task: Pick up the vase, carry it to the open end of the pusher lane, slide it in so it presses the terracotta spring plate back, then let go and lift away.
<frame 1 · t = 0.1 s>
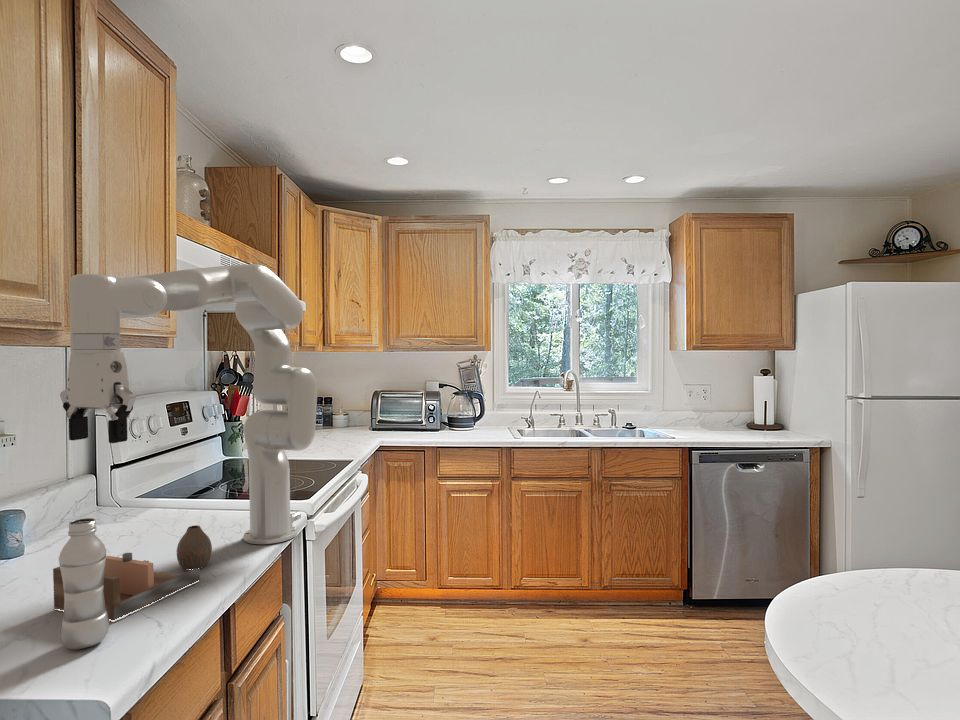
hand: (98, 440, 107), 31 cm above the countertop, tool pointing down, fingers open, 9 cm apart
pusher plate: (127, 573, 115), point 4 cm above the countertop, slide at 0.0 cm
pusher lane: (131, 595, 116), on the countertop
vase: (194, 567, 130), on the countertop
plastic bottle: (85, 645, 97), on the countertop
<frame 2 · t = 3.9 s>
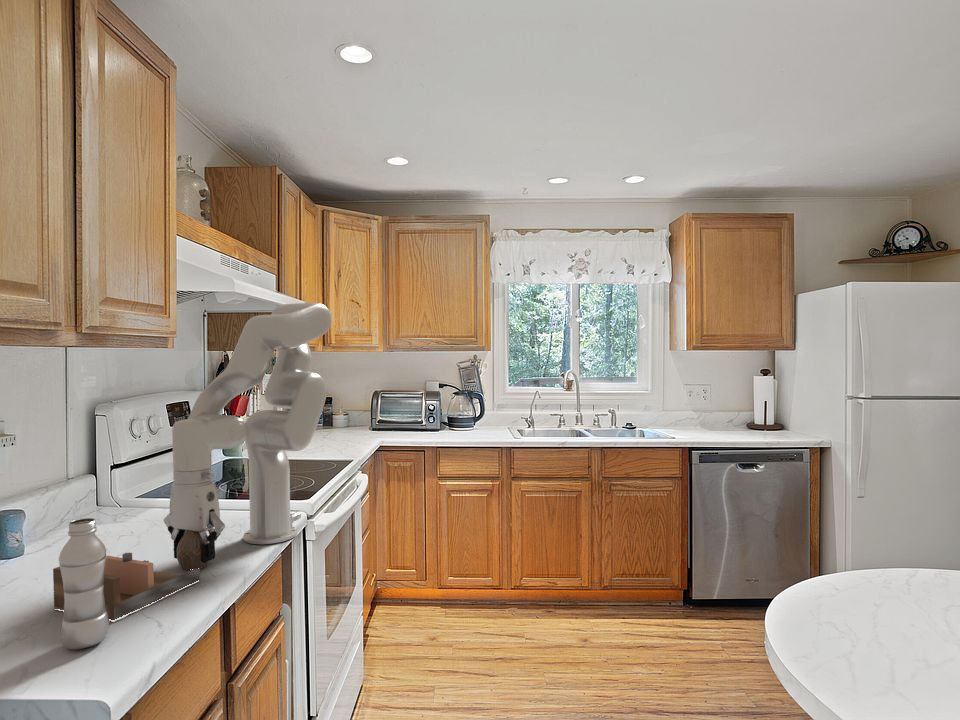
hand: (194, 557, 130), 2 cm above the countertop, tool pointing down, fingers closed on vase, 7 cm apart
vase: (194, 567, 130), on the countertop, touching gripper
everything else where it was.
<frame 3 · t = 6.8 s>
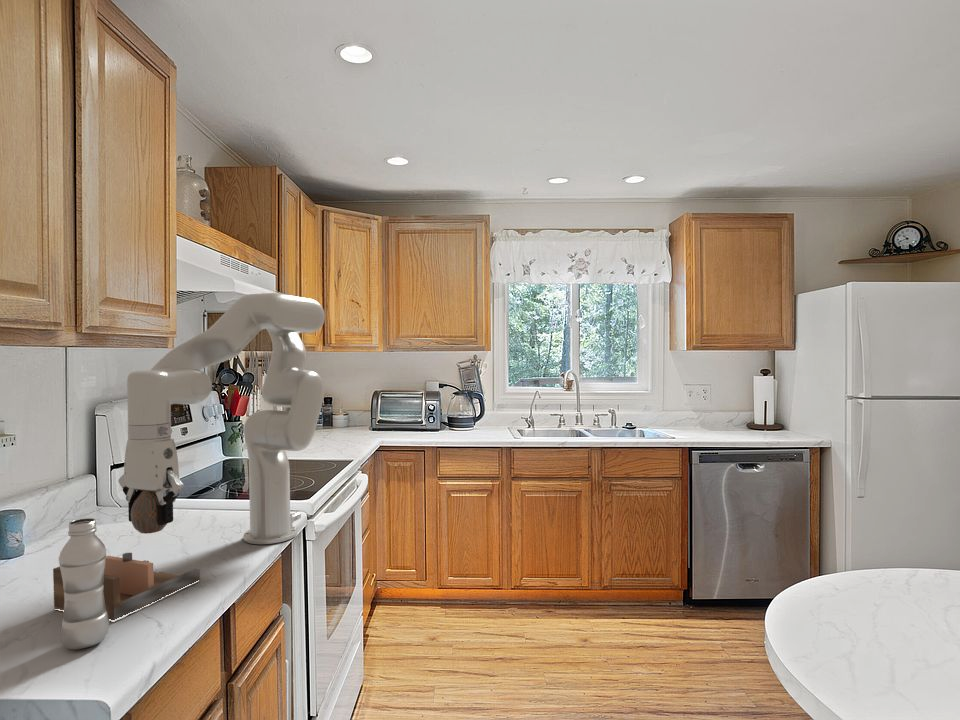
hand: (150, 520, 120), 13 cm above the countertop, tool pointing down, fingers closed on vase, 6 cm apart
vase: (151, 531, 120), point 11 cm above the countertop, touching gripper
everything else where it was.
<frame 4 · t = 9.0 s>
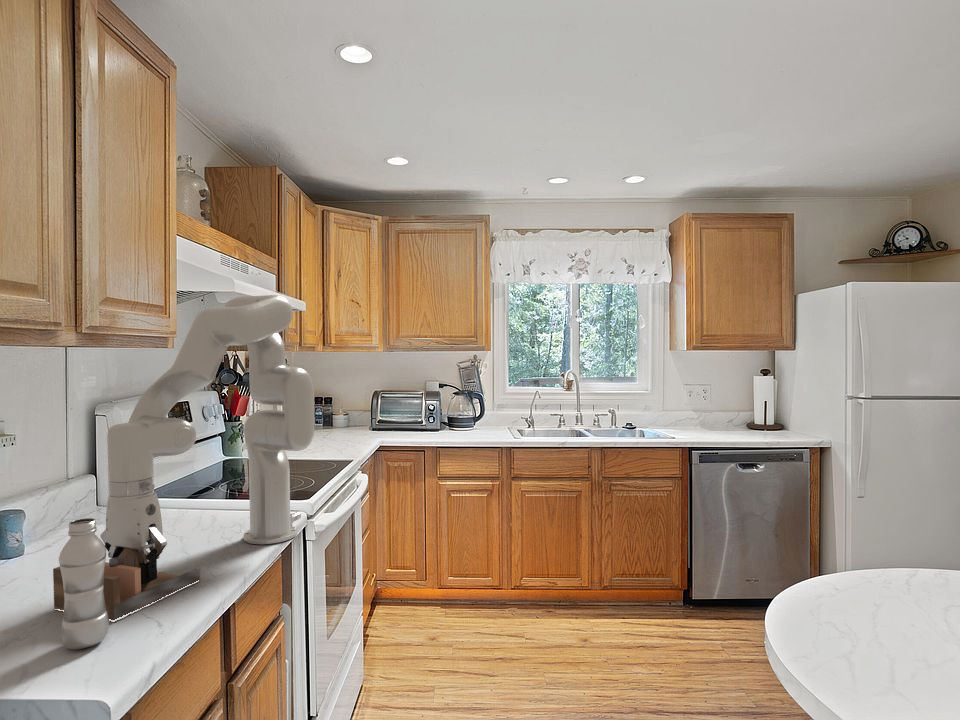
hand: (134, 578, 116), 3 cm above the countertop, tool pointing down, fingers closed on vase, 6 cm apart
pusher plate: (114, 578, 113), point 4 cm above the countertop, slide at 2.7 cm
vase: (134, 589, 116), point 1 cm above the countertop, touching gripper
everything else where it was.
when the fingers open (3 cm above the countertop, at t = 10.1 s): vase stays where it is, resting on pusher lane, pusher plate.
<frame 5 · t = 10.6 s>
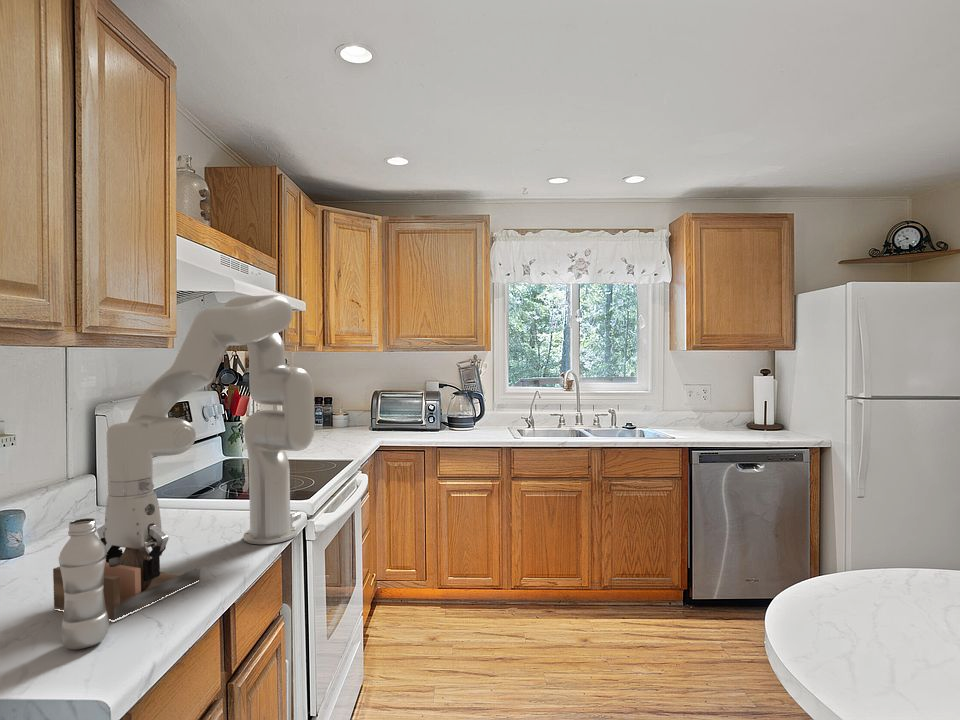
hand: (132, 575, 116), 4 cm above the countertop, tool pointing down, fingers open, 9 cm apart
pusher plate: (114, 578, 113), point 4 cm above the countertop, slide at 2.7 cm, touching vase
vase: (134, 591, 116), resting on pusher lane, pusher plate
everything else where it was.
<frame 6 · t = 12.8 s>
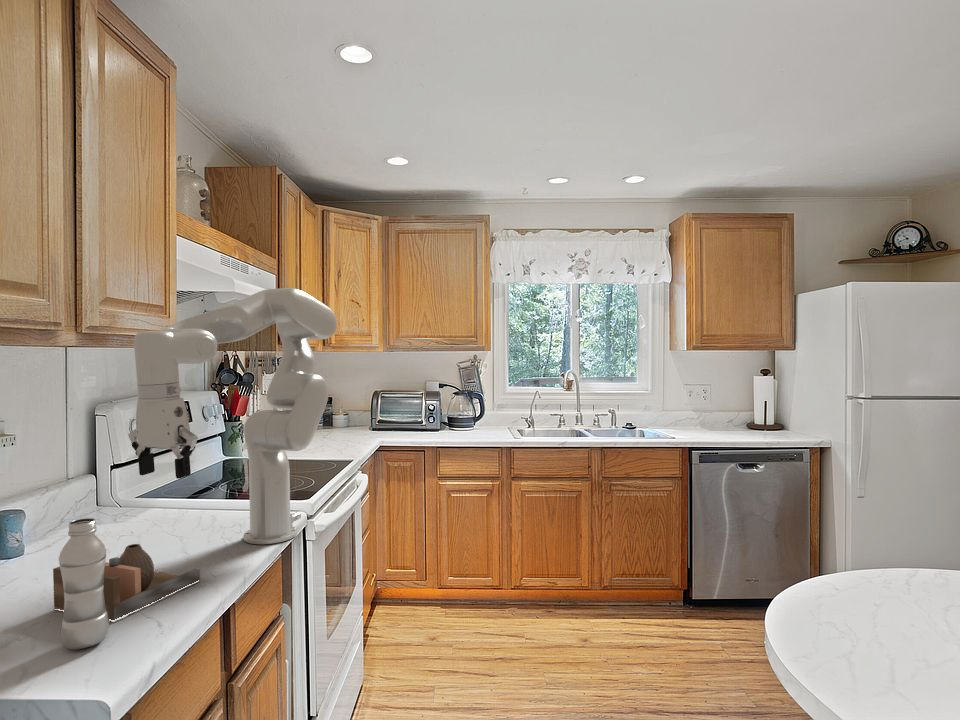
hand: (165, 475, 123), 21 cm above the countertop, tool pointing down, fingers open, 9 cm apart
nothing on the countertop moved.
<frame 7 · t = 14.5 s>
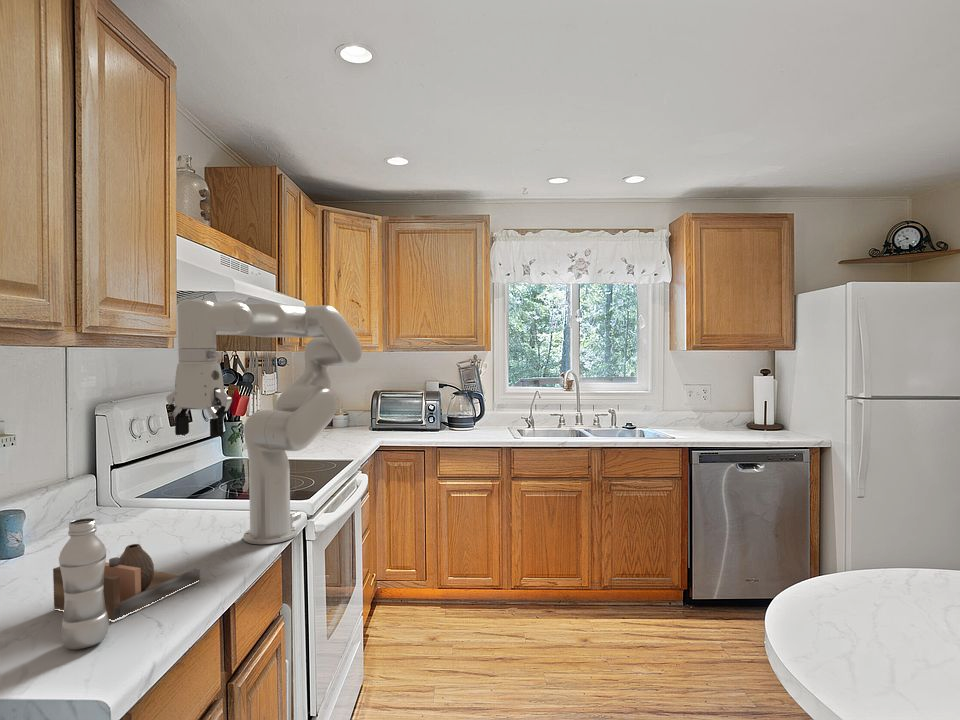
hand: (199, 435, 131), 28 cm above the countertop, tool pointing down, fingers open, 9 cm apart
nothing on the countertop moved.
at the end: vase 0.1 cm off-centre on the pusher lane, point 0.4 cm above the pusher lane's base; pusher plate slide at 2.7 cm; vase tilted 0° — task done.
